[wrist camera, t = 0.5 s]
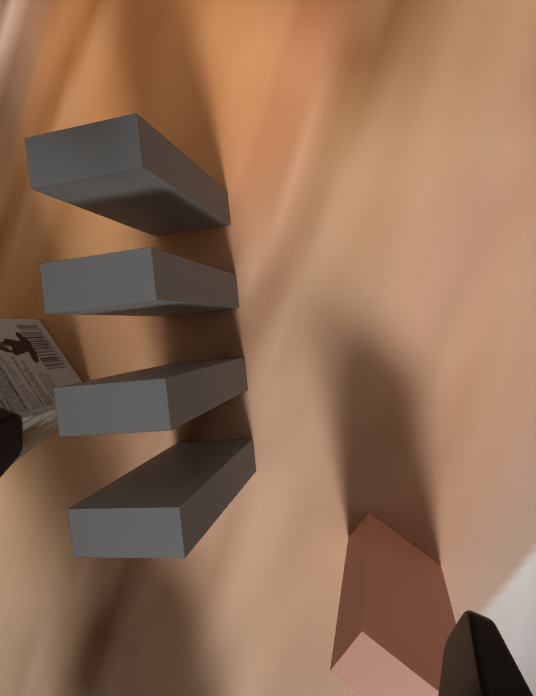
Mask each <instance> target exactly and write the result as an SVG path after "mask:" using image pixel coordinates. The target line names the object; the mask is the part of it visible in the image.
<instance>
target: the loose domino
mask: <svg viewBox="0 0 536 696" xmlns="http://www.w3.org/2000/svg"><path fill="white" fill-rule="evenodd" d="M455 626H456V623H455V619H454V615H453V611H452V607H451V603H450V599H449V595H448V591H447V587H446V584H445V580H444V576H443V572H442V568H441V565H440V564H438V563H437V562H436V561H434V560H433V559H432V558H430V557H429V556H428V555H426V554H425V553H424V552H422V551H421V550H420V549H418V548H417V547H416V546H414V545H413V544H411V543H410V542H409V541H407V540H406V539H405V538H403V537H402V536H401V535H399V534H398V533H397V532H395V531H394V530H393V529H391V528H390V527H388V526H387V525H386V524H384V523H383V522H382V521H380V520H379V519H378V518H376V517H375V516H374V515H372V514H371V513H370V512H367V514H366V515H365V516H364V518H363V519H362V520H361V522H360V523H359V524H358V526H357V527H356V528H355V530H354V531H353V532H352V533H351V535H350V536H349V537H348V544H347V552H346V559H345V566H344V574H343V581H342V588H341V596H340V603H339V610H338V617H337V625H336V632H335V639H334V647H333V654H332V661H331V668H330V671H331V672H332V673H333V674H335V675H336V676H337V677H338V678H340V679H341V680H342V681H343V682H345V683H346V684H347V685H348V686H349V687H351V688H352V689H353V690H354V691H356V692H357V693H358V694H359V695H361V696H438V694H439V685H440V677H441V669H442V660H443V652H444V647H445V643H446V641H447V638H448V636H449V635H450V633H451V632H452V630H453V629H454V627H455Z"/></svg>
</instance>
